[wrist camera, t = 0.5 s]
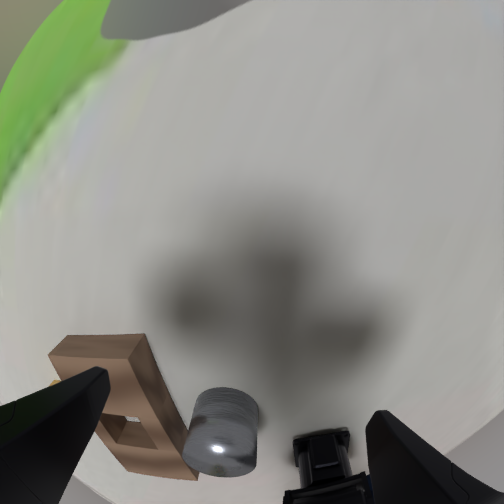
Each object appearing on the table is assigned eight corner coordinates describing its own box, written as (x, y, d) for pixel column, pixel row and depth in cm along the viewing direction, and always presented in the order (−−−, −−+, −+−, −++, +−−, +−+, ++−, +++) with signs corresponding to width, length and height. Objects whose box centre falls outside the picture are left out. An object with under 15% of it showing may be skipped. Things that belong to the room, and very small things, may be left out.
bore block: (202, 457, 29) (197, 480, 25) (135, 450, 29) (127, 471, 25) (144, 333, 23) (127, 358, 19) (67, 335, 24) (47, 354, 20)
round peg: (261, 424, 26) (261, 476, 19) (205, 427, 27) (194, 476, 20) (252, 384, 25) (249, 441, 18) (188, 388, 25) (171, 441, 18)
